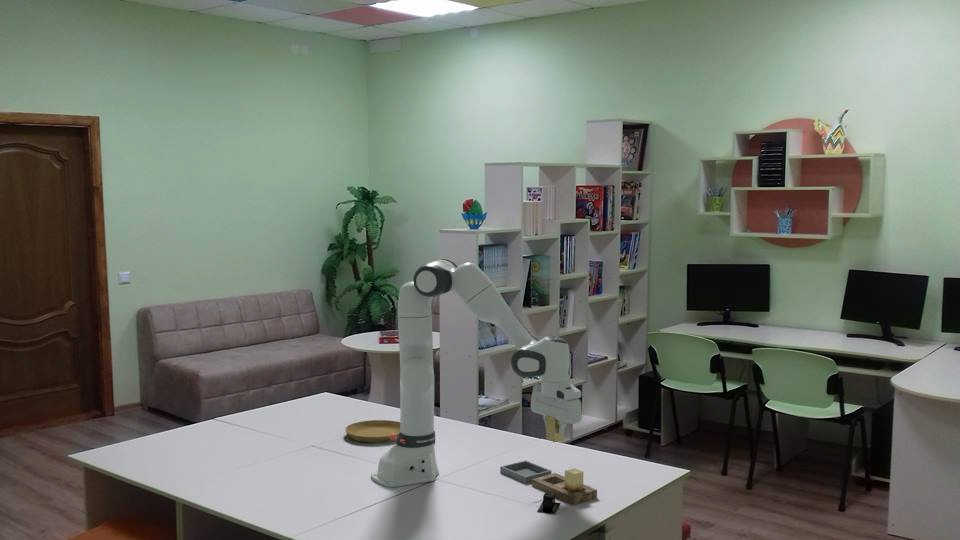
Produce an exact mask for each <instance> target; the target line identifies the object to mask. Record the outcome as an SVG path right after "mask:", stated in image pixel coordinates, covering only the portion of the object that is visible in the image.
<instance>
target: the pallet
mask: <svg viewBox="0 0 960 540" xmlns="http://www.w3.org/2000/svg"><path fill="white" fill-rule="evenodd" d="M531 487H534V488H536V489H539V490H541V491H544V492H551V493H555V499H556V498H557V499H559V500H561V501H564V502H565V503H568V504H569V505H573V506H574V505H578V504H581V503H584V502H587V501H591V500H594V498H595V499H597V498H598V489H597V488H594V487H591V486H589V485H586V484H584V483H583V491H579V492H576V493H572V492H570V491H567V490H565V475H561V474H559V473H557V472H553V473H551V474H550V475H546V476H542V477H538V478H535V479H532V482H531Z"/></svg>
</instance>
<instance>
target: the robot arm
mask: <svg viewBox="0 0 960 540" xmlns="http://www.w3.org/2000/svg"><path fill="white" fill-rule="evenodd" d="M449 292H453V293H455V294H457V296H458V297H459V298H460V299H461V300H462V302H463V304H464V305H465V307H467V309H468V310H469V312H470V313H471V314H472V315H473V316H475V317H476V319H478V320H479V321H482V322H485V323H489V324H492V325H495V326H496V327H498V328H500V330H501V331H503V332H504V334H505V335H506V336H507V338H508V339H509V341H511V343H512V344H513V345H514V346H515V348H516V350H515V352H514V353H513V355H512V357H511V359H510V360H511V361H510V366H511V369H512V371H513V372H514V373H515V374H516V375H517V376H519V377H520V378H535V377H541V378H540V379H541V382H540V383H536V384H534V385H533V388H532V393H531V398H530V409H531V411H532V413H535V414H538V415H542V418H543V421H544V424H545V425H546V414H547V415H550V416H553V417H555V419H557V420H559V423H560V424H561V425H560V427H559V428H557V433H558V434H564V435H565V429H566V427H567V425H568V424H570V425H577V424H580V423H581V421H582V416H583V415H582V414H583V411H582V402H581V400H580V398H581V397H582V391H581V390H580V389H579V388H577V387H576V386H574V385H573V383H571V382H570V381H571V378H570V373H569V370H570V367H571V357H570V355H571V354H570V353H571V352H570V346H569V344H568V342H567V341H566V339H564V338H562V337H558V336H555V335H547V336H544V337H543V338H542V339H540V340H539V339H537V338H536V337H535V336H533V335H532V334H531V333H530V331H529V330H528V329H527V328H526V326H525V325H524V324H523V323H522V321H521V320H520V319H519V318H518V316H517V315H516V314H515V313H514V312H513V310H512V309H511V308H510V307H509V305H508V303H507V302H506V301H505V299H504V298H503V296H502V295H501V293H500V292H499V290H498V288H497V287H496V285H494V283H493V281H492V280H491V279H490V278H489V277H488V275H487V274H486V273H485V272H484V271H483V269H481V268H480V267H479V266H478V265H476V264H475V263H473V262H465V263H461V264H459V265H457V264H456V263H455V262H454V261H452V260H450V259H445V258H443V259H442V258H441V259H436V260H432V261H430V262H427V263H425V264H423V265H420V267H418V269H417V270H416V271H415V272H414V275H413V281H412V280H411V281H408V282H405V283H404V284H402V285H401V287H400V288H399V293H398V302H397V330H398V346H399V347H398V348H399V351H398V352H399V368H400V369H399V374H400V375H399V395H400V398H399V402H400V403H399V411H400V413H399V414H400V415H399V417H400V418H399V420H400V421H399V422H400V432H399V434H398V436H397V435H395V434H393V433H392V434H391V435H390V439H391V440H394V441H395V444H394V445H392V447H391V448H389V450H387V452H385V453H384V454H383V455H382V456H381V457H380V458H379V461H378V466H377V471H374V472H371V474H370V475H371V476H370V477H371V480H372V481H373V482H375V483H376V484H379V485H381V486H385V487H387V488H388V487H389V488H390V487H391V488H397V487H402V486H408V485H409V486H410V485H415V484H421V483H426V482H427V483H429V482H434V481H436V478H437V476H438V475H439V474H440V471H439V468H438V464H437V459H436V458H437V457H436V449H435V445H436V431H435V373H434V352H433V350H434V348H433V347H434V345H433V317H432V316H433V315H432V313H433V312H432V311H433V310H432V301H433V299H434V297H439V296H442V295H445V294H446V293H449ZM394 441H393V442H394Z"/></svg>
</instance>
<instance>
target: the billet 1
mask: <svg viewBox="0 0 960 540" xmlns="http://www.w3.org/2000/svg"><path fill="white" fill-rule="evenodd" d="M560 425H561V424H560V423H559V420H557V419H555V417H553V416H550V415H547V414H546V424H545V440H547V441H550V442H552V443H558V442H562V441H565V433H564V434H558V433H557V428H559V427H560Z"/></svg>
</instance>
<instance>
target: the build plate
mask: <svg viewBox="0 0 960 540" xmlns="http://www.w3.org/2000/svg"><path fill="white" fill-rule="evenodd" d="M561 504H562V502H557V501H556V497H555V493H551V492H546V491H544V494H543V497H542V501H541V503H540V506H539V507H538V509H537V510H536V513H540V514H547V515H549V514H550V515H556V513H557V511H558V509H560V506H561Z"/></svg>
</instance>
